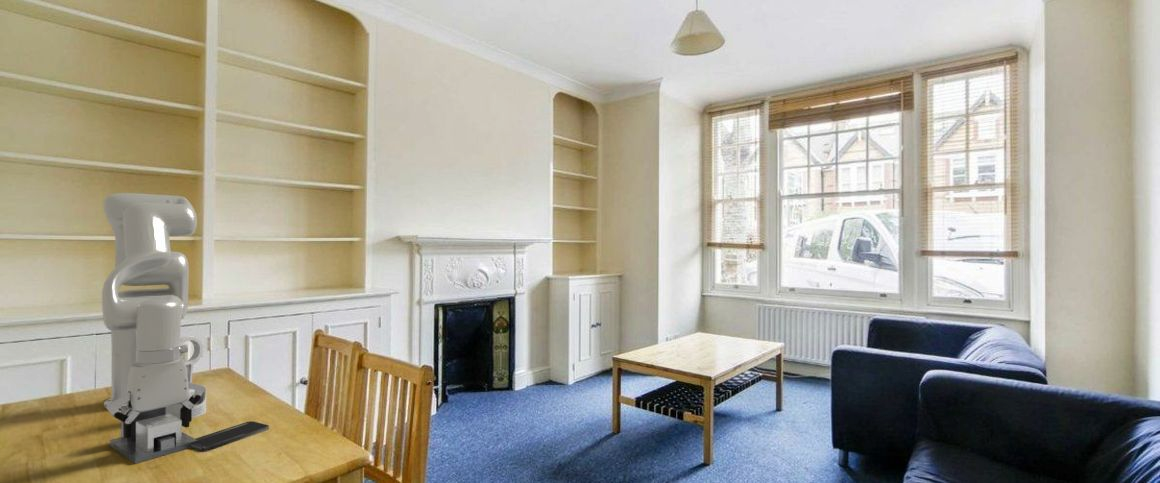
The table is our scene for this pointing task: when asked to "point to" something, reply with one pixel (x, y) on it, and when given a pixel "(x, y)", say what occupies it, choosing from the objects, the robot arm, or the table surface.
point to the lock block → (157, 430)
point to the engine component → (201, 404)
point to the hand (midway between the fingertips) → (158, 432)
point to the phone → (229, 435)
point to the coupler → (161, 444)
